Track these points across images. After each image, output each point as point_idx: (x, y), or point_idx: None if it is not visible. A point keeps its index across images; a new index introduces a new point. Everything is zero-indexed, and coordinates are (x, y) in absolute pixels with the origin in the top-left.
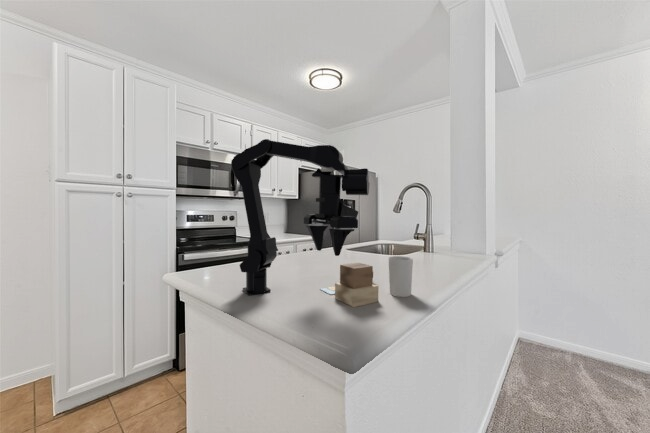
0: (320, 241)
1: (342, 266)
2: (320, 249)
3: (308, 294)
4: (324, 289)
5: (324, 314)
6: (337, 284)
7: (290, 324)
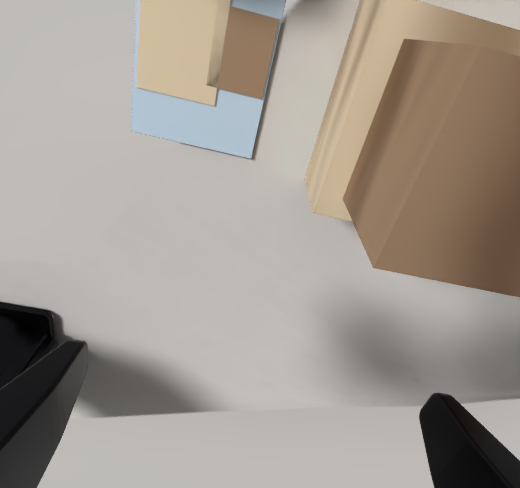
0: (22, 457)
1: (403, 267)
2: (81, 354)
3: (172, 226)
4: (157, 118)
5: (389, 319)
6: (339, 218)
7: (358, 399)
